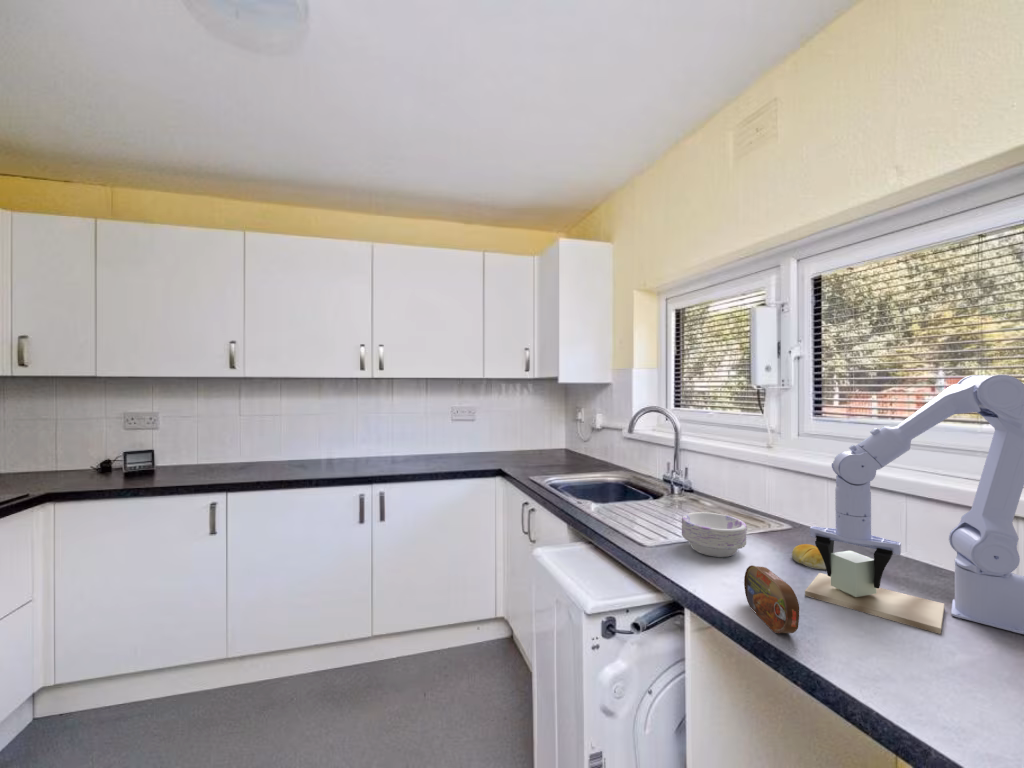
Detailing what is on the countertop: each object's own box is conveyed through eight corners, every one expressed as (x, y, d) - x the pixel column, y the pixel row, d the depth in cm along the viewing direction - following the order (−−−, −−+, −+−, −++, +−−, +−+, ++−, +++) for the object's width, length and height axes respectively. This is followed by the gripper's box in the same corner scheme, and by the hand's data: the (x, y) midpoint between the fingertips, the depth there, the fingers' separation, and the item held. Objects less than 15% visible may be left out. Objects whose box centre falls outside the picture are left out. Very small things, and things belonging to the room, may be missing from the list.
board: (944, 609, 86) (944, 603, 86) (940, 634, 78) (940, 628, 78) (819, 577, 101) (819, 572, 101) (804, 595, 92) (804, 590, 92)
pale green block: (876, 593, 90) (876, 559, 89) (856, 597, 88) (855, 563, 88) (850, 582, 95) (850, 550, 94) (830, 585, 93) (830, 553, 93)
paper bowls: (760, 555, 114) (760, 523, 113) (717, 567, 107) (717, 533, 107) (709, 536, 127) (709, 508, 127) (669, 546, 121) (668, 516, 120)
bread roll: (810, 554, 114) (810, 538, 114) (844, 568, 106) (844, 551, 106) (782, 557, 112) (782, 541, 112) (814, 572, 104) (814, 554, 104)
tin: (742, 600, 91) (742, 558, 91) (758, 600, 91) (758, 558, 91) (784, 644, 76) (783, 593, 76) (803, 644, 76) (803, 593, 75)
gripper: (902, 515, 89) (903, 585, 89) (815, 502, 99) (815, 564, 99) (898, 524, 84) (898, 597, 84) (806, 508, 94) (807, 574, 94)
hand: (853, 580), depth 91 cm, fingers closed on pale green block, 7 cm apart
